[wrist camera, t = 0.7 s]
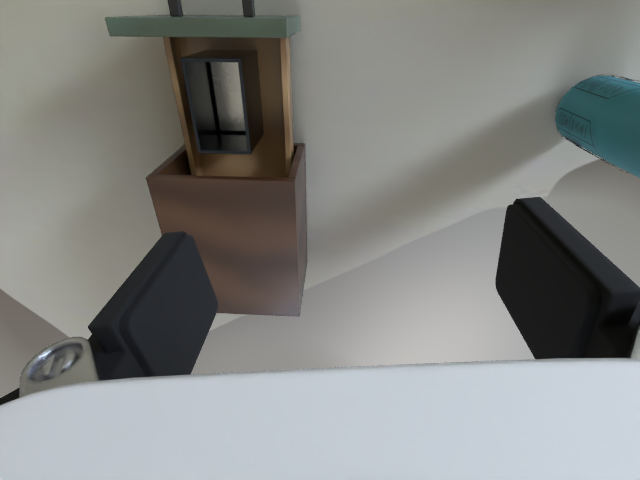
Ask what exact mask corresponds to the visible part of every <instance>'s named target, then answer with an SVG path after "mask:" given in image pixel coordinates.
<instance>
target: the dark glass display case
mask: <svg viewBox="0 0 640 480" xmlns="http://www.w3.org/2000/svg"><path fill="white" fill-rule="evenodd" d="M180 59H181V64H182V70H183V75H184V80H185V86H186V91H187V96H188V101H189V107H190V112H191V117H192V123H193V128H194V133H195V139H196V144H197V149H198V153H210V154H252V152H253V150H254V149H255V147H256V146H257V144H258V142H259V141H260V139H261V138H262V136H263V134H264V128H263V116H262V104H261V91H260V79H259V67H258V55H257V50H204V51H201V52H198V53H194V54H191V55H188V56H184V57H181V58H180Z"/></svg>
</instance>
